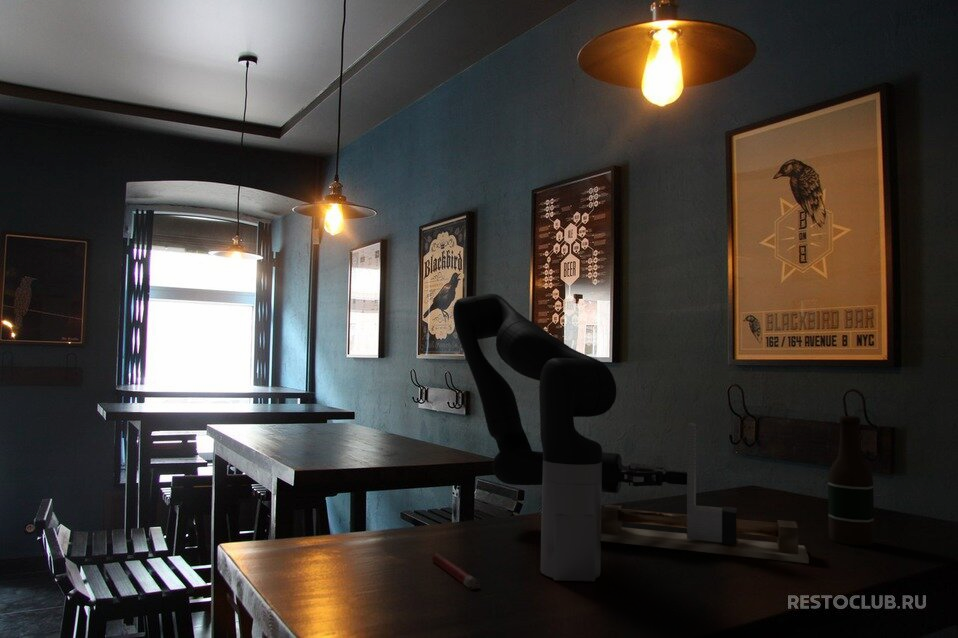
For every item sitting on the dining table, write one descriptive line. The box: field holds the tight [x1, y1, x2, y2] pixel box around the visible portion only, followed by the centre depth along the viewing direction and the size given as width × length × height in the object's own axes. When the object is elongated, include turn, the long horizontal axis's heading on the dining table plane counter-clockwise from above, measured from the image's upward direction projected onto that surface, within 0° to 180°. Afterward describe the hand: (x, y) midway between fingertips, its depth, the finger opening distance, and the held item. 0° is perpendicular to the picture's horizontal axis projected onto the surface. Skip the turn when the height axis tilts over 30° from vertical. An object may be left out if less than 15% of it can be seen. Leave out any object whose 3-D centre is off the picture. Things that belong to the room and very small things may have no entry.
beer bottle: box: [827, 415, 875, 547], centre depth 137 cm, size 8×8×24 cm
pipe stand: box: [601, 504, 810, 564], centre depth 130 cm, size 37×9×5 cm, turn 70°
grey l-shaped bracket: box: [686, 422, 723, 542], centre depth 130 cm, size 6×6×20 cm
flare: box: [431, 552, 481, 590], centre depth 108 cm, size 2×15×2 cm, turn 24°
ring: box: [721, 506, 737, 545], centre depth 128 cm, size 2×6×6 cm, turn 160°
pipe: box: [618, 508, 779, 538], centre depth 130 cm, size 32×3×3 cm, turn 70°
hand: (688, 478), depth 131 cm, fingers closed
